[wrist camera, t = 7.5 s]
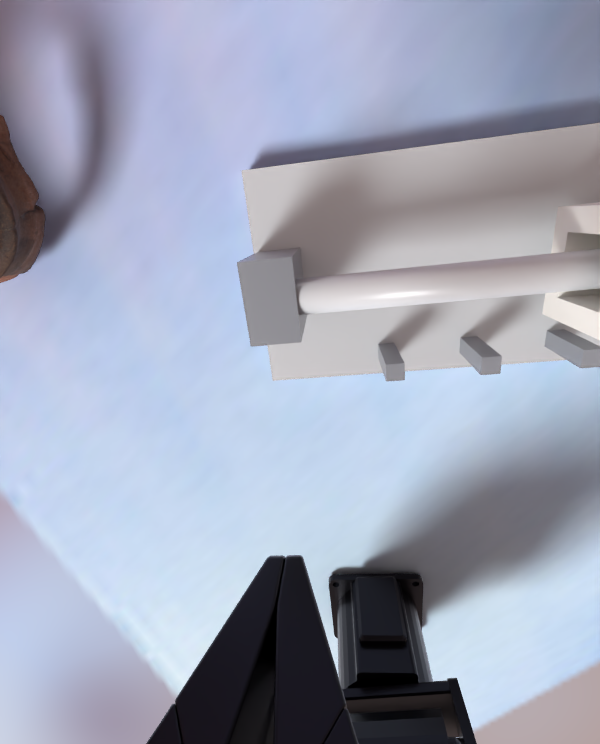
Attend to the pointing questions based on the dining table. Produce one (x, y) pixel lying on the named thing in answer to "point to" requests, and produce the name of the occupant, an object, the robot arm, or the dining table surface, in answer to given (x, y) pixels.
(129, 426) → the dining table surface
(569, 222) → the white slider block
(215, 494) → the dining table surface
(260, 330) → the slider rail board
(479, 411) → the dining table surface
